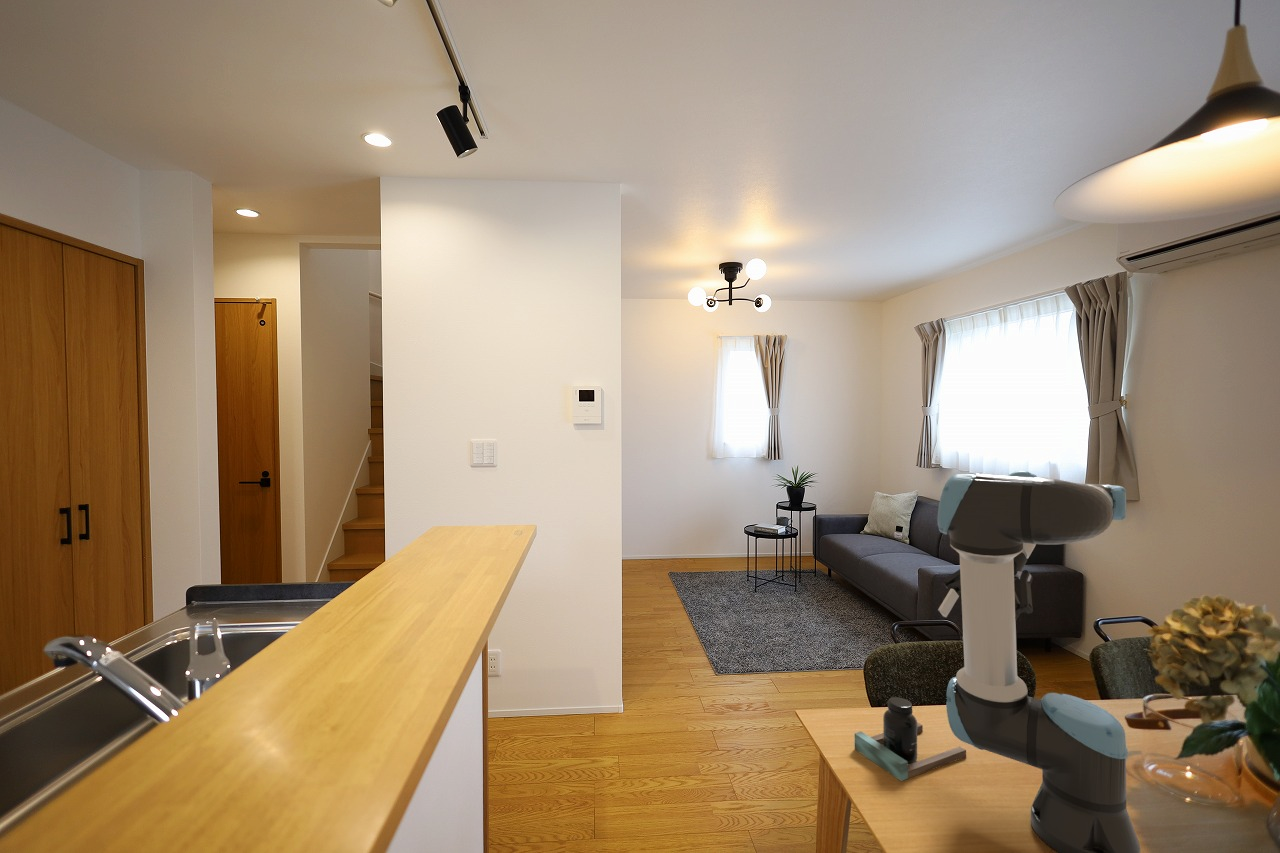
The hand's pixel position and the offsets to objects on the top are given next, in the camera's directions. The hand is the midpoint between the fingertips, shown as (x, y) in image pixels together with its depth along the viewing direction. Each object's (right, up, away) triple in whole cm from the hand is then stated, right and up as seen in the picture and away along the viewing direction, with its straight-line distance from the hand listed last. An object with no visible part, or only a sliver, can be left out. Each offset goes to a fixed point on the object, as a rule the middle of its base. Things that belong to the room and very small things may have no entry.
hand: (968, 623), depth 127 cm
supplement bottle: (-18, -28, -5) cm, 34 cm away
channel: (-14, -28, -3) cm, 31 cm away
